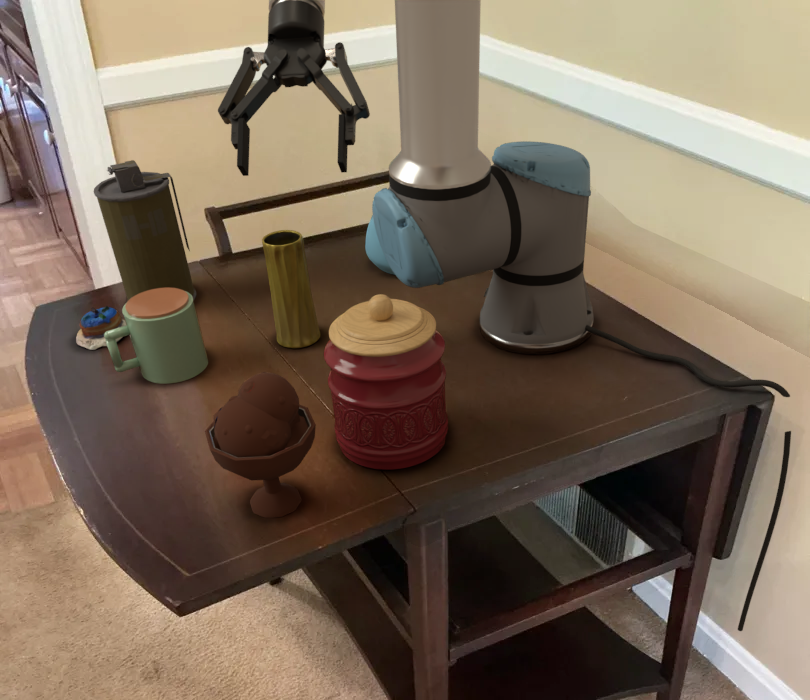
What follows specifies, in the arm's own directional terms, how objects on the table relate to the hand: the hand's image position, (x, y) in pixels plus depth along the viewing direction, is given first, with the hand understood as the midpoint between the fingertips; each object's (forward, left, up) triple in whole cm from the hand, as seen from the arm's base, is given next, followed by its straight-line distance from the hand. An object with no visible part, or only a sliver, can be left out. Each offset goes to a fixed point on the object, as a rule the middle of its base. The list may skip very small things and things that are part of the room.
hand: (292, 169), depth 113 cm
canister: (+15, +18, -19) cm, 31 cm away
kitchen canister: (-38, +7, -19) cm, 43 cm away
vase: (-9, +6, -19) cm, 22 cm away
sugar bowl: (+4, -20, -19) cm, 28 cm away
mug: (-6, +25, -19) cm, 32 cm away
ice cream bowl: (-41, +23, -19) cm, 51 cm away
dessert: (+9, +29, -19) cm, 36 cm away
